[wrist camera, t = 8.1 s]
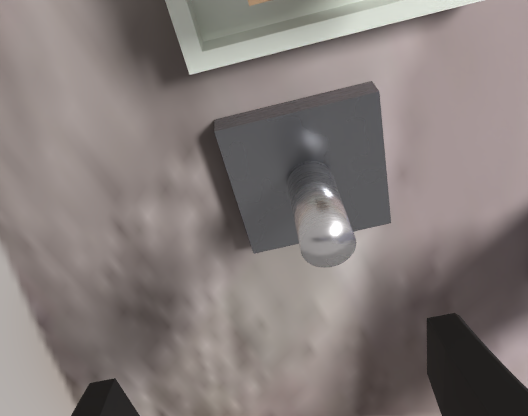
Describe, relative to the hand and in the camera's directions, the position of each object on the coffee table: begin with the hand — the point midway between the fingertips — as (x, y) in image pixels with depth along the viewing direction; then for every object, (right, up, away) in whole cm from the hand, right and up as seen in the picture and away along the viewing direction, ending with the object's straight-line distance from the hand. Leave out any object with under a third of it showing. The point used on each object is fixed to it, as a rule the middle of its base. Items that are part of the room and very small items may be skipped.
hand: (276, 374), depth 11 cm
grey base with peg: (+1, +5, +8) cm, 10 cm away
